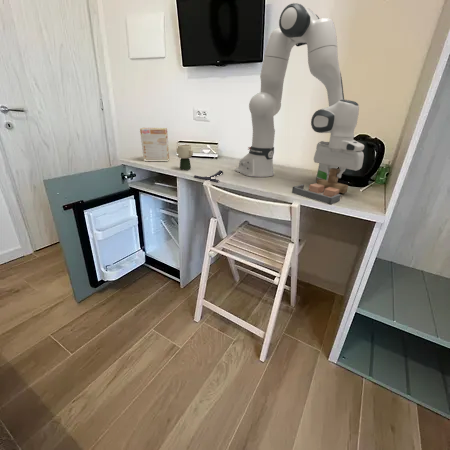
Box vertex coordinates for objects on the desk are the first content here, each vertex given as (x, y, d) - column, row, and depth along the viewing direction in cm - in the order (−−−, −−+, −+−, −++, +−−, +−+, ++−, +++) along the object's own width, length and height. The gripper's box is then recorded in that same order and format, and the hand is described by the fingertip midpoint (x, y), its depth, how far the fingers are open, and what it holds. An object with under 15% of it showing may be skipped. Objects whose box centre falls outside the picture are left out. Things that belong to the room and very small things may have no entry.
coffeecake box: (169, 159, 168) (167, 127, 160) (167, 162, 162) (165, 128, 153) (146, 159, 168) (142, 127, 159) (143, 161, 161) (139, 128, 153)
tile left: (308, 191, 114) (309, 184, 113) (314, 189, 117) (315, 183, 116) (317, 194, 111) (318, 187, 110) (323, 192, 114) (324, 185, 112)
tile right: (323, 195, 109) (324, 189, 108) (327, 193, 112) (329, 187, 111) (333, 198, 106) (335, 191, 105) (338, 196, 109) (339, 189, 108)
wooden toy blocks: (316, 186, 119) (319, 166, 115) (319, 185, 120) (323, 165, 117) (343, 193, 110) (348, 172, 106) (346, 192, 112) (351, 171, 108)
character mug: (197, 169, 146) (196, 145, 140) (189, 172, 140) (188, 147, 135) (181, 166, 151) (180, 143, 145) (173, 169, 145) (172, 145, 140)
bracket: (233, 177, 135) (233, 171, 134) (217, 183, 124) (217, 178, 122) (210, 173, 142) (210, 168, 141) (193, 179, 131) (193, 173, 129)
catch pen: (291, 192, 112) (292, 187, 111) (301, 189, 116) (302, 184, 115) (330, 204, 100) (331, 198, 98) (339, 200, 104) (340, 194, 103)
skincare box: (315, 177, 135) (321, 146, 128) (326, 176, 137) (332, 146, 130) (326, 182, 128) (333, 149, 121) (337, 181, 130) (344, 149, 123)
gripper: (313, 141, 112) (308, 172, 118) (361, 147, 98) (353, 183, 104) (321, 140, 116) (316, 170, 122) (368, 146, 102) (360, 180, 108)
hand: (333, 176), depth 113 cm, fingers closed on wooden toy blocks, 3 cm apart
